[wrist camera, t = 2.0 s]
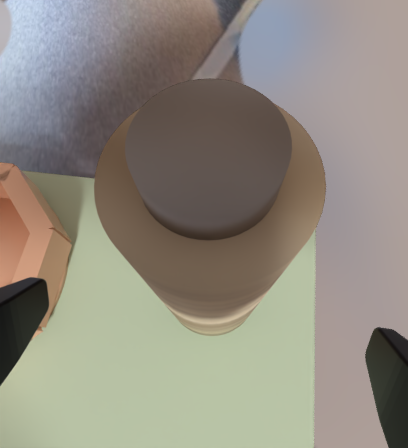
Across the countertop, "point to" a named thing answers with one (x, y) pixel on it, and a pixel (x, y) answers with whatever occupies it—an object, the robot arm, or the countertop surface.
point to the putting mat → (157, 356)
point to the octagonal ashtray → (30, 237)
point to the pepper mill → (210, 198)
